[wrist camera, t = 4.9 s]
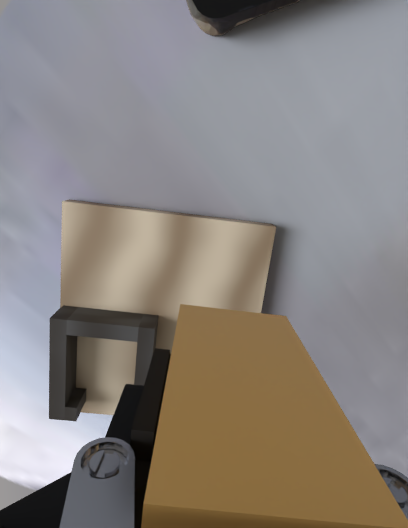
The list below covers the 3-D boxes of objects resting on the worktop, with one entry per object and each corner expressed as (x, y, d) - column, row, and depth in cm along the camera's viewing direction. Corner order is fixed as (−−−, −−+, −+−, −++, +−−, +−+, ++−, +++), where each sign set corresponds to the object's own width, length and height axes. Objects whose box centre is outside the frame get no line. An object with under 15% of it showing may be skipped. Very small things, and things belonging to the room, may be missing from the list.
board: (271, 224, 27) (284, 232, 23) (238, 414, 32) (244, 448, 28) (69, 199, 26) (47, 204, 22) (65, 399, 31) (46, 431, 27)
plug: (285, 316, 13) (412, 528, 5) (261, 444, 14) (330, 765, 6) (180, 303, 13) (143, 503, 5) (165, 434, 14) (119, 750, 6)
